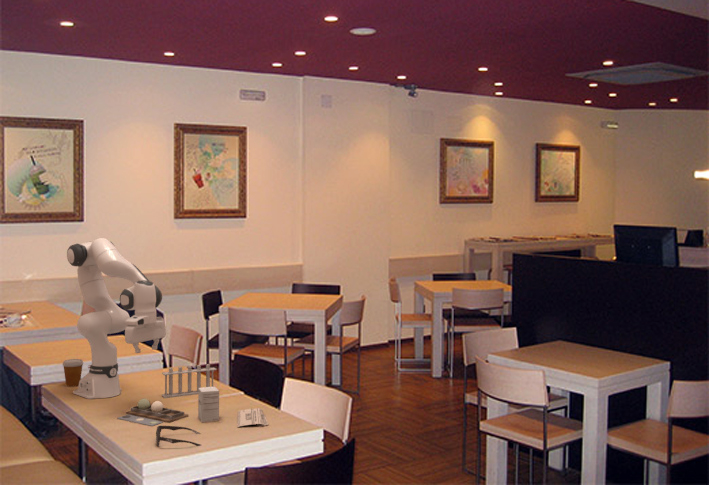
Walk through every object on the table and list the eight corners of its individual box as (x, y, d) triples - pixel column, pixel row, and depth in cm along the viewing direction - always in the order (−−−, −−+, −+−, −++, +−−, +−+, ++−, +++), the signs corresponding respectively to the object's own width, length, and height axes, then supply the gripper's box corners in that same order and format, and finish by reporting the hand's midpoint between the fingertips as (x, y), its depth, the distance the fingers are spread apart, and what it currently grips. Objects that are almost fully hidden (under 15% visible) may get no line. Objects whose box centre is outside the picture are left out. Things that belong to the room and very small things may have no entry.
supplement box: (197, 417, 292) (197, 387, 292) (215, 415, 295) (215, 386, 295) (201, 422, 285) (201, 391, 285) (219, 420, 288) (219, 390, 288)
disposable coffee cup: (76, 381, 351) (76, 357, 350) (87, 384, 345) (87, 360, 345) (58, 385, 343) (58, 361, 343) (69, 388, 338) (69, 363, 337)
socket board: (126, 413, 297) (126, 408, 297) (146, 407, 306) (146, 402, 306) (169, 422, 284) (169, 417, 284) (188, 416, 294) (188, 411, 294)
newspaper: (268, 428, 281) (268, 422, 281) (237, 432, 279) (237, 426, 279) (266, 411, 304) (265, 406, 304) (237, 415, 302) (237, 410, 302)
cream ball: (148, 413, 294) (148, 401, 294) (157, 410, 299) (157, 399, 298) (157, 415, 292) (157, 403, 292) (165, 412, 296) (165, 400, 296)
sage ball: (135, 410, 298) (135, 399, 298) (144, 408, 303) (144, 396, 302) (143, 412, 296) (143, 400, 296) (152, 409, 300) (152, 398, 300)
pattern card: (116, 418, 289) (116, 417, 289) (128, 415, 295) (128, 413, 295) (152, 426, 279) (152, 425, 279) (163, 422, 285) (163, 421, 285)
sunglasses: (155, 436, 269) (157, 423, 269) (200, 438, 272) (202, 425, 272) (153, 450, 253) (155, 436, 252) (201, 452, 256) (202, 438, 256)
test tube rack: (164, 398, 322) (164, 369, 322) (161, 396, 326) (161, 367, 326) (216, 392, 335) (216, 364, 334) (213, 390, 338) (214, 362, 338)
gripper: (158, 315, 311) (158, 346, 311) (122, 321, 293) (122, 354, 293) (168, 316, 308) (169, 347, 308) (132, 322, 290) (133, 355, 290)
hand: (146, 351), depth 301 cm, fingers open, 8 cm apart
